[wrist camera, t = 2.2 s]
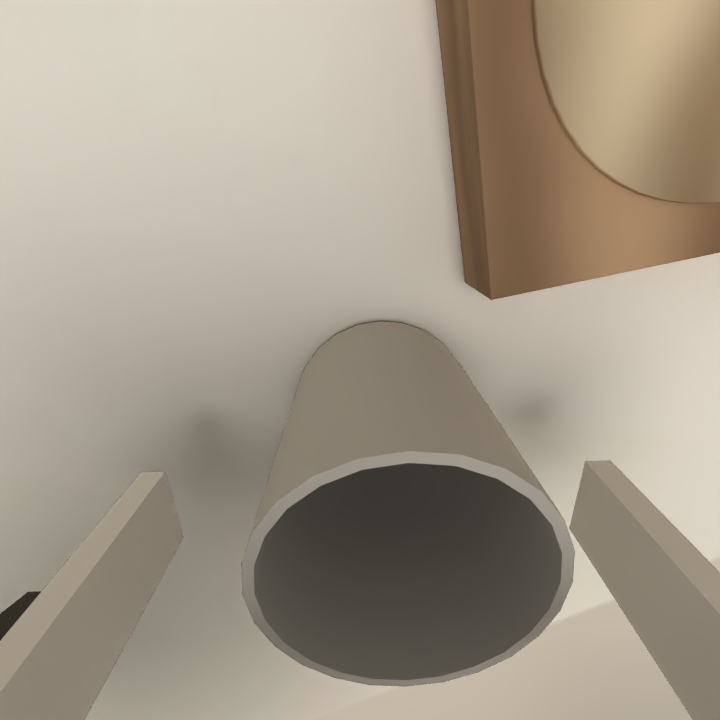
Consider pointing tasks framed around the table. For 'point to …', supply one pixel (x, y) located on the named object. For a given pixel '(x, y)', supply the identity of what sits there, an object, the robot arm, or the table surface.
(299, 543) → the cup
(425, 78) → the table surface
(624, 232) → the pedestal
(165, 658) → the table surface
